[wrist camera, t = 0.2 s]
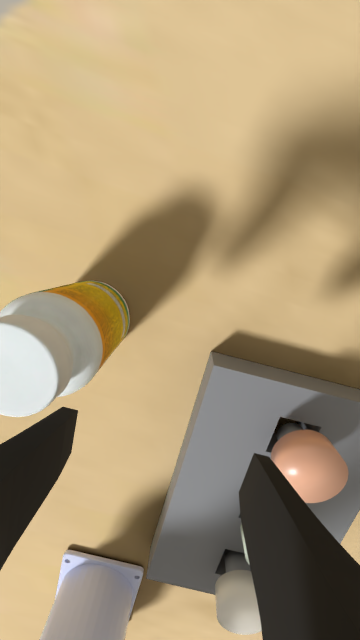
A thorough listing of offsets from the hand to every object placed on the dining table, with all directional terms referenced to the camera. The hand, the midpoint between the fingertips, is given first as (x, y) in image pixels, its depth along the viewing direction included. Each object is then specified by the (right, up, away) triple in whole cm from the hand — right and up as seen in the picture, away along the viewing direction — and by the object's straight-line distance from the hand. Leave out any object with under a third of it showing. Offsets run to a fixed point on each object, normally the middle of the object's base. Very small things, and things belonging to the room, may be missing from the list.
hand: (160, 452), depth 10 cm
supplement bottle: (-5, +6, +9) cm, 12 cm away
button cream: (+6, -15, +12) cm, 20 cm away
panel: (+7, -9, +12) cm, 17 cm away
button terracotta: (+9, -3, +8) cm, 13 cm away
